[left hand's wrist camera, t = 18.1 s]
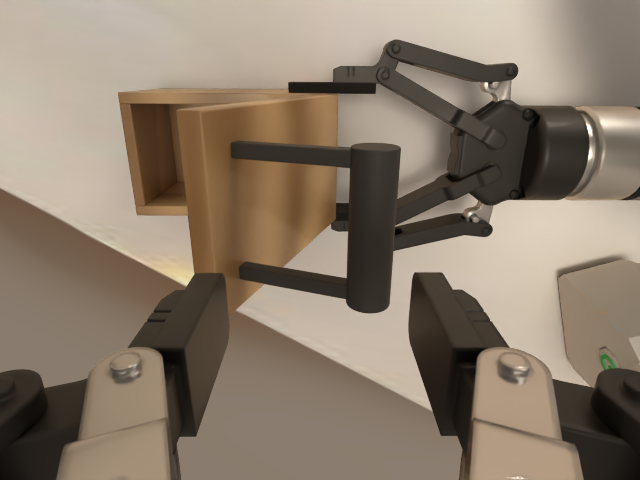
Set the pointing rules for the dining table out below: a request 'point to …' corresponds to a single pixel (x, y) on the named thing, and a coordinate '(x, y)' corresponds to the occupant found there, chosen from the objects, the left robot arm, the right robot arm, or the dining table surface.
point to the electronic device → (602, 318)
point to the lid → (285, 197)
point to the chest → (169, 140)
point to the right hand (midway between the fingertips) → (291, 152)
